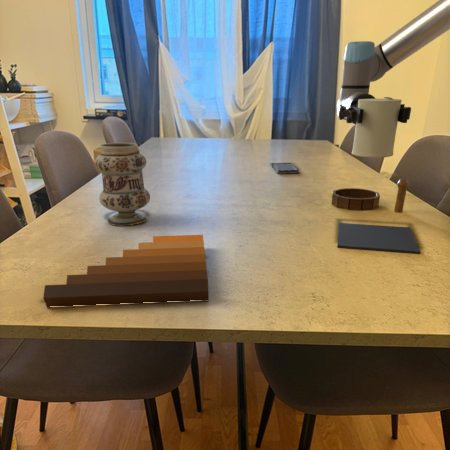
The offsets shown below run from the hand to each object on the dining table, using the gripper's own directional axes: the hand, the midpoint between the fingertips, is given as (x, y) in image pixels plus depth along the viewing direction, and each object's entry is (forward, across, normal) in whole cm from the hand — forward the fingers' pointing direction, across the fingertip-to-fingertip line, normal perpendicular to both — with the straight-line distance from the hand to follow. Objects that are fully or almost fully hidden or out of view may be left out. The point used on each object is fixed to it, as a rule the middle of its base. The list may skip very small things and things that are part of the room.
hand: (383, 116), depth 92 cm
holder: (-18, -4, -24) cm, 30 cm away
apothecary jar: (-1, +58, -24) cm, 63 cm away
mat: (+10, 0, -24) cm, 26 cm away
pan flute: (+31, +48, -24) cm, 62 cm away
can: (-5, 0, -9) cm, 10 cm away
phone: (-68, +16, -24) cm, 73 cm away
